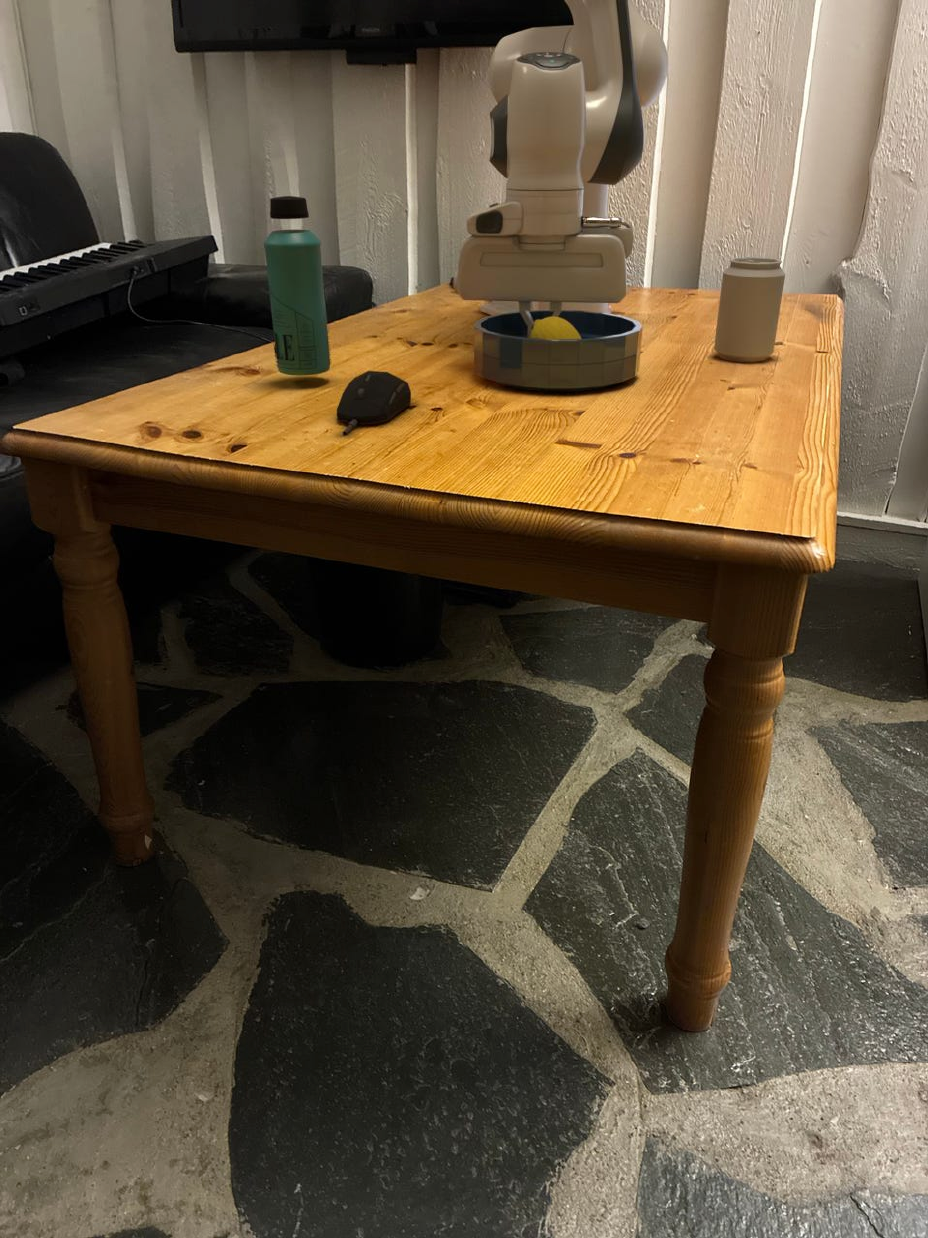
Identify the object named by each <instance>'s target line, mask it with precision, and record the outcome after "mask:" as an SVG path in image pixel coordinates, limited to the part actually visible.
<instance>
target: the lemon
mask: <svg viewBox="0 0 928 1238" xmlns="http://www.w3.org/2000/svg"><path fill="white" fill-rule="evenodd" d="M530 338H539V339H582V338H581V336H580V335H579V333H578V332H577V330H576V329H575V328H574V327H573V326H572V325H571V324H570V323H569V322H568V321H566V320H565V319H562V318H559V317H554V316H553V317H547V318H544V319H542V320H536V321H535V322H534V325H533V329H532V331H531V335H530Z"/></svg>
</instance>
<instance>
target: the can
mask: <svg viewBox="0 0 928 1238" xmlns="http://www.w3.org/2000/svg"><path fill="white" fill-rule="evenodd" d="M729 263H730V265H729V266H728V267H726V269H725V270H724V271H722V279H721V287H720V294H719V295H720V296H719V302H718V303H719V304H718V312H717V313H718V314H717V319H716V320H717V321H716V328H715V329H716V330H715V335H714V336H715V338H714V346H713V350H714V351H715V352H716V353H717V355H718V356H719V358H721V359H723V360H726V361H731V362H737V363H738V362H740V363H755V362H756V363H758V362H762V361H765V360H767V358H768V357H770V356H771V355H773V354H774V352H775V346H776V339H777V333H778V326H779V319H780V314H781V313H780V311H781V306H782V299H783V292H784V286H785V279H786V272H785V271H784V269H783V267H781V264H783V261H782V260H781V259H779V258H774V257H773V258H772V257H762V256H761V257H760V256H759V257H758V256H756V257H755V256H744V257H743V256H742V257H733V258H730V260H729Z"/></svg>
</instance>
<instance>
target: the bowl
mask: <svg viewBox="0 0 928 1238" xmlns="http://www.w3.org/2000/svg"><path fill="white" fill-rule="evenodd" d="M529 312H530V314H531V317H532V319H533V321H534V322H535V321H536V320H542V319H544V318H547V317H551V316H552V315H553V313H554V312H552V311H550V310H532V311H529ZM558 317H559V318H562V319H565V320H566V321H568V322H569V323H570V324H571V325H572V326H573V327H574V328H575V329H576V330H577V332H578V333H579V335H580V336H581V338H582V339H539V338H528V325H526V323H525V321H524V319H523V317H522V316H521V314H520V312H519V311H517V312H508V313H501V314H495V315H487V316H484V317H481V318H479V319H478V320H476V321H474V322H473V330H474V331H473V345H474V346H473V352H474V353H473V356H474V358H473V360H474V362H473V368H474V369H473V371H474V373H475V374H477V375H478V376H479V377H481V378H483V379H486V380H489V381H493V382H496V383H497V384H500V385H503V386H506V387H511V388H514V389H521V390H528V391H538V392H560V393H561V392H581V391H582V392H583V391H590V390H591V391H593V390H597V389H603V388H606V387H610V386H613V385H615V384H620V383H623V382H625V381H628V380H630V379H633V378H635V377H636V376H637V375H638V373H639V371H640V365H641V364H640V363H641V350H642V339H643V328H644V325H642V324H641V323H640V322H639V321H638V320H636V319H633V318H631V317H628V316H624V315H619V314H613V313H611V314H609V313H600V312H591V311H575V310H562V311H561V313H560V315H559V316H558Z"/></svg>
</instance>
